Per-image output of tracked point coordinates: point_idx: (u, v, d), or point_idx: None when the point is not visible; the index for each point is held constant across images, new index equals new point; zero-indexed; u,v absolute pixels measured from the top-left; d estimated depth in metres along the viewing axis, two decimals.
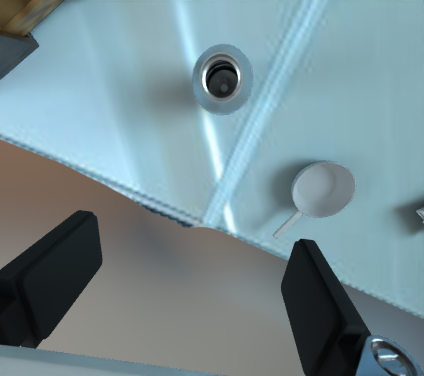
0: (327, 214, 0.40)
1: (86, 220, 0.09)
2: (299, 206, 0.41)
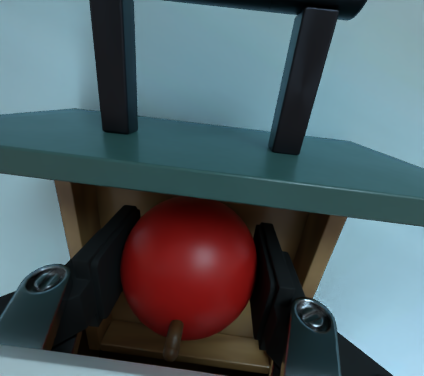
0: None
1: (133, 213, 0.10)
2: None
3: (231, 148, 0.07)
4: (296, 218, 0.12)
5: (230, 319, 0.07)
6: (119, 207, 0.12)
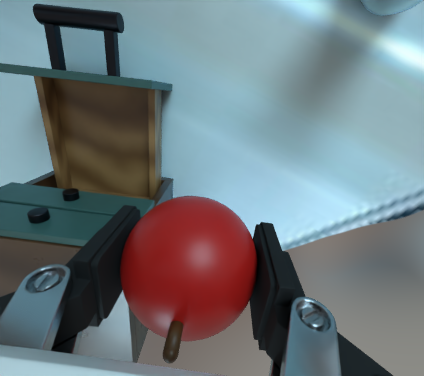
0: None
1: (133, 213, 0.10)
2: None
3: None
4: None
5: (230, 320, 0.07)
6: (69, 116, 0.26)
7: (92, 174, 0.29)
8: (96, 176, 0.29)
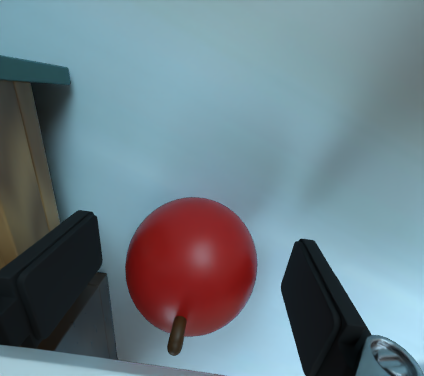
0: None
1: (86, 220, 0.09)
2: None
3: None
4: None
5: (230, 316, 0.08)
6: None
7: None
8: None
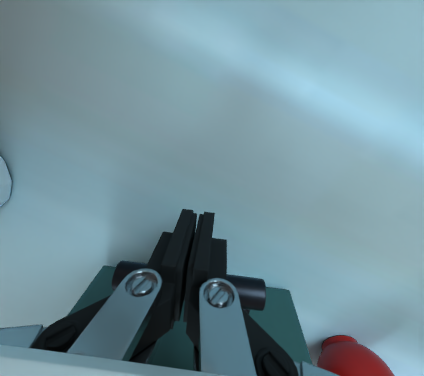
0: None
1: (193, 218, 0.10)
2: None
3: None
4: None
5: None
6: None
7: None
8: None
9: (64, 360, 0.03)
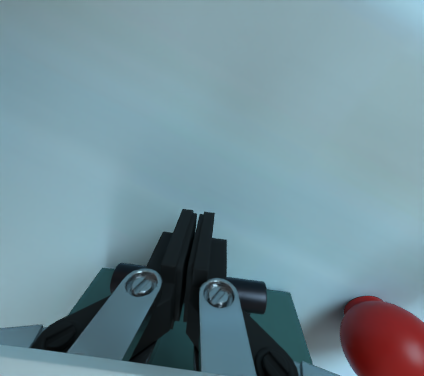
0: None
1: (193, 218, 0.10)
2: None
3: None
4: None
5: None
6: None
7: None
8: None
9: (64, 360, 0.03)
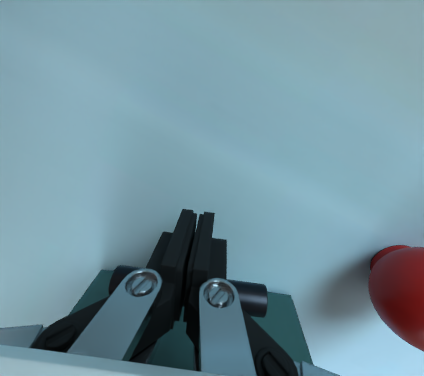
0: None
1: (193, 218, 0.10)
2: None
3: None
4: None
5: None
6: None
7: None
8: None
9: (64, 360, 0.03)
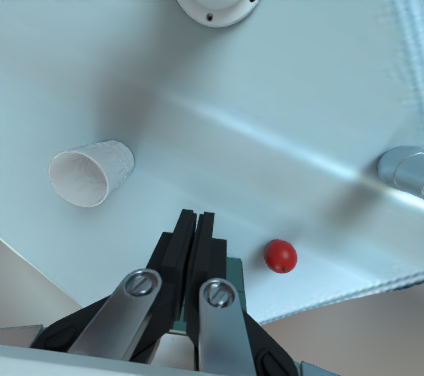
0: None
1: (193, 218, 0.10)
2: None
3: None
4: None
5: (292, 268, 0.37)
6: None
7: None
8: None
9: (64, 360, 0.03)
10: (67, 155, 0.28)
